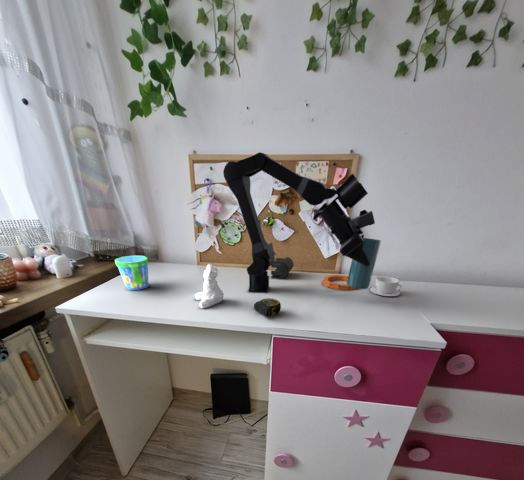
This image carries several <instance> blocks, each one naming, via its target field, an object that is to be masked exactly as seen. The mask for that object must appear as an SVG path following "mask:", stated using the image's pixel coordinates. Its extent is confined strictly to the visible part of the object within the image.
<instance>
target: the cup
mask: <svg viewBox="0 0 524 480" xmlns="http://www.w3.org/2000/svg"><path fill="white" fill-rule="evenodd" d="M362 239H363V240H364V244H363V250H364V252H365V254H366V256H367V258H368V260H369V262H370V265H369V266H365V265H363V264H361V263H359V262H357V261H355V260H353V259H351V262H350V266H349V267H350V268H349V271H348V275H347V276H348V280H347V281H346V284H347V285H348V286H350V287H354V288H357V289H360V290H361V289H363V290H365V289H366V290H367V289H369V287H370V285H371V281H372V277H373V273H374V270H375V269H374V268H375V265H376V262H377V257H378V253H379V249H380V246H381V242H382V240H381V239H375V238H367V237H364V238H362Z"/></svg>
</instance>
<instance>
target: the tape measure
mask: <svg viewBox="0 0 524 480" xmlns="http://www.w3.org/2000/svg"><path fill="white" fill-rule="evenodd" d="M253 309H254V311H255V312H257V313H259V314H261V315H263V316H265V318H270V317H274V316H277V315H279V314H280V312H281V309H282V304H281V302H280V300H277V299H276V298H262V299H260V300H258V301H256V302H255V303H253Z"/></svg>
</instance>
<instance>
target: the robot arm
mask: <svg viewBox="0 0 524 480" xmlns="http://www.w3.org/2000/svg"><path fill="white" fill-rule="evenodd" d="M260 172H264V173H265V174H267V175H269V176H271V178H274V179H275V180H277V181H278V182H281V184H283V185H286V186H288V187H289V188H291V189H293V191H295V192H296V193H297V194H298V195H299V197H301V199H303V200H304V201H305V202H306V203H307V204H309V205H311V206H313V207H314V206H319V205H321V204H322V205H321V206H320V207H319V208H318V209H317V208H316V209H313V217H312V220H313V221H316V220H318V218H321V220H322V221H323V222H324V224H325V225H326V226H327V227H328V228H329V230H330V233H331V235H334V236H335V238H336V239H337V240H338V241H339V242H338V244H339V246H340V248H339V253H340V254H341V255H342V257H347V258H349V259H351V260H352V259H353V260H355V261H357V262H359V263H361V264H363V265H365V266H369V265H370V262H369V260H368V258H367V256H366V254H365V252H364V250H363V244H364V240H363V239H362V238H365V234H364V231H363V230H362V228H366V227H368V226H372V225H375V224H376V223H375V222H376V221H375V216H374V213H373V210H370V211H368V210H366V209H363V210H360V211H359V215H358V216H356V217H354V218H352V217H351V216H350V215H348V214H347V213H346V212H345V211H344V210H345V209H347V208H349V209H352V208H353V207H355V206H356V205H357V204H358V203H359V202H361V201H362V200H363V199H364V198H365V197H366V196H367V195H368V194H369V193H368V191H367V190H366V188H365V187H364V186H363V184H362V182H360V181H359V180H358V179H357V178H356V175H354V173H351V174H350V175H349V176H348V177H347V178H346V180H345V181H344V182H342V184H340V186H339V187H337V189H336V188H335V187H334V188H328V186H327V185H326V184H325V183H323V182H321V181H318V180H315V179H312V178H308V177H306V176H302V175H301V174H299V173H297V172H296V171H294V170H292V169H291V168H289V167H287V166H285V165H283V164H282V163H280V162H279V161H277V160H275V159H273V158H271V157H270V156H269V155H268V154H267V153H263V152H256V153H255V154H254V155H251V156H248V157H246V158H242V159H240V160H238V161H233V160H232V161H228V162H227V163H225V166H224V168H223V171H222V174H223V178H224V181H225V182H226V184H227V186H228V188H229V190H230V191H231V192H232V194H233V195H234V197H235V198H236V201H237V203H238V206H239V210H240V212H241V217H242V219H243V222H244V225H245V227H246V231H247V234H248V237H249V240H250V243H251V258H252V263H251V264H250V265H249V266H248V267H246V272H247V275H248V276H249V277H248V282H249V283H248V284H249V285H248V292H250V293H251V292H253V293H267V292H268V290H269V289H270V275H268V274H269V272H268V270H269V268H270V267H271V265H272V264H273V262H274V261H275V259H276V258H275V256H276V252H275V251H274V246H273V245H274V244H273V242H270V243H268V242H267V241H266V239H265V235H264V233H263V230H262V226H261V224H260V220H259V217H258V213H257V210H256V207H255V204H254V201H253V197H252V194H251V177H253V176H255V175H257V174H259V173H260ZM334 197H335V198H334ZM332 198H334V199H333V200H332V201H331V202H329V203H328V202H325V201H326V200H329V199H332ZM337 201H338V202H339V203H338V202H337ZM340 205H341V206H340ZM342 207H343V208H342Z"/></svg>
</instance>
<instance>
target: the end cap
mask: <svg viewBox="0 0 524 480" xmlns="http://www.w3.org/2000/svg"><path fill="white" fill-rule="evenodd" d="M270 267H271V268H273V269H274V270H270V276H271V277H270V278H271V279H276V280H282V279H284V278H286V276H287V275H288V274H289V273H290V272H291V271H292V270H293V269H294V261H293V259H292V258H291V257H288V256H286V257H284V258H282V257H277V258H275V260H274V262H273V264H272V265H271V266H270Z"/></svg>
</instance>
